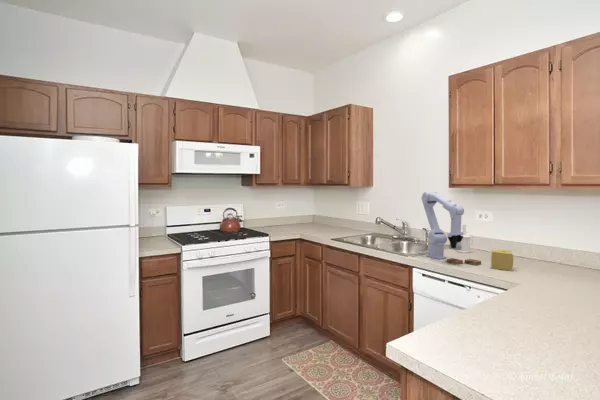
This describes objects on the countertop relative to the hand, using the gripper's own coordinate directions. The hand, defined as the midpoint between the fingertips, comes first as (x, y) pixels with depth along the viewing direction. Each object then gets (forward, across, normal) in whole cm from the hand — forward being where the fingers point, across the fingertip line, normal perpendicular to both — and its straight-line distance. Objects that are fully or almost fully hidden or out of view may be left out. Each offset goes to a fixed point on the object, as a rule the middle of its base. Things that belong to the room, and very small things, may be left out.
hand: (455, 247), depth 202 cm
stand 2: (+10, +8, -7) cm, 14 cm away
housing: (+1, 0, 0) cm, 1 cm away
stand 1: (+10, 0, 0) cm, 10 cm away
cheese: (+10, +12, -22) cm, 27 cm away
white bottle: (+10, +38, +16) cm, 43 cm away
